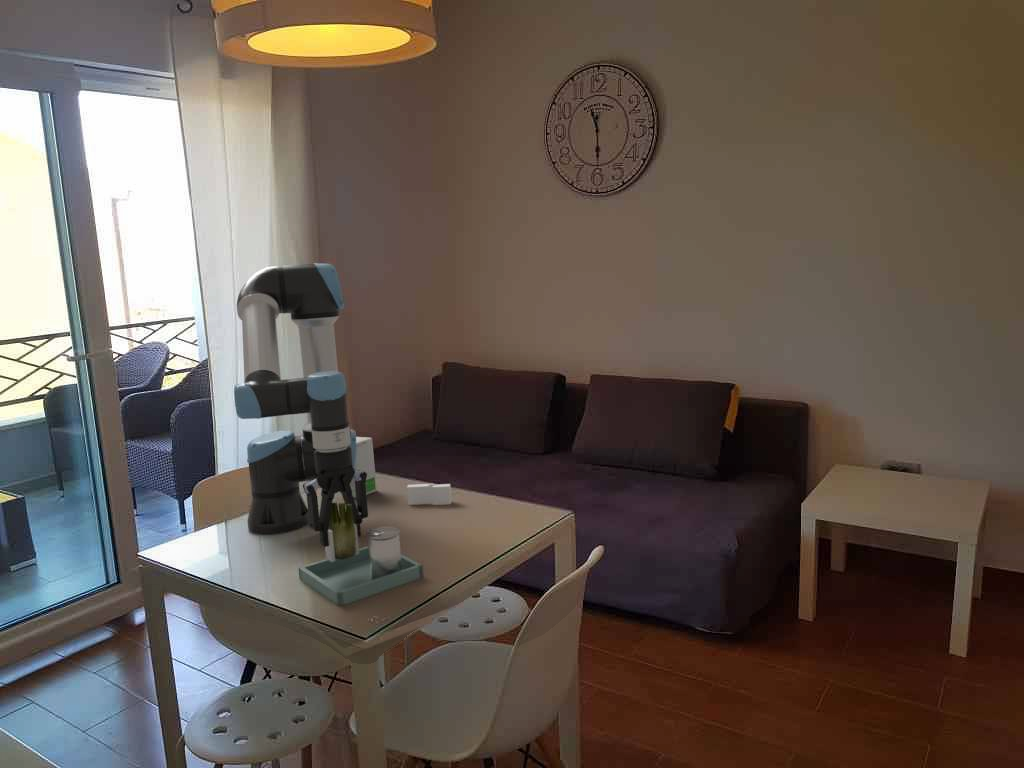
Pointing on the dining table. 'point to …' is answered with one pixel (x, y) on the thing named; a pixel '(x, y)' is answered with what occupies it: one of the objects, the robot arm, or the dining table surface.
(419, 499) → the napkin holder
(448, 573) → the dining table surface
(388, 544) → the can
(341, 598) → the tray
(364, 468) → the skincare box
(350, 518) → the fennel bulb
